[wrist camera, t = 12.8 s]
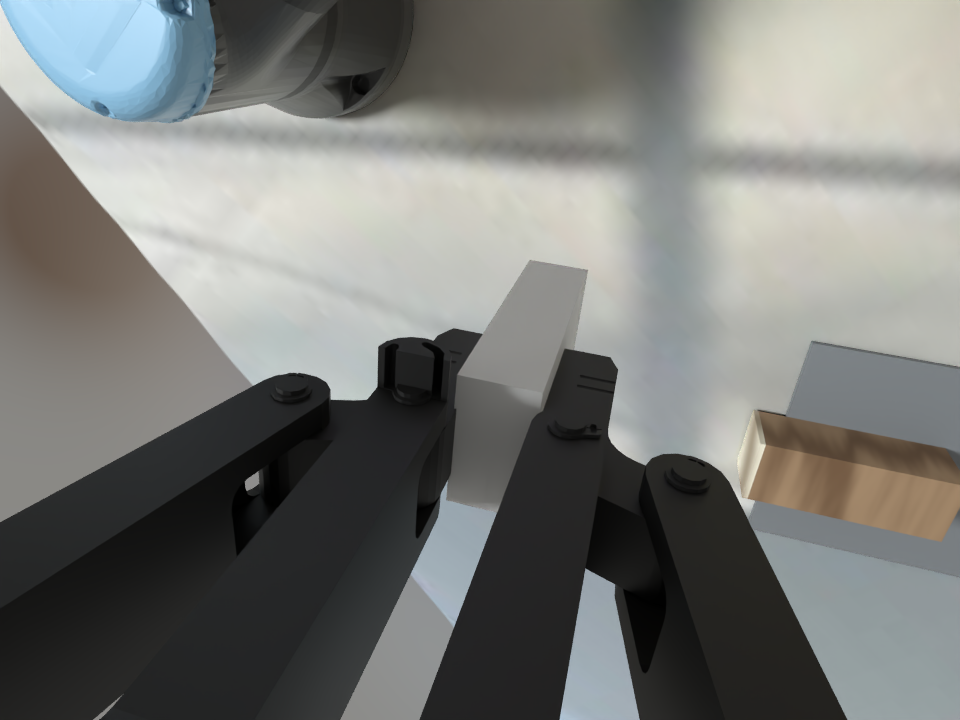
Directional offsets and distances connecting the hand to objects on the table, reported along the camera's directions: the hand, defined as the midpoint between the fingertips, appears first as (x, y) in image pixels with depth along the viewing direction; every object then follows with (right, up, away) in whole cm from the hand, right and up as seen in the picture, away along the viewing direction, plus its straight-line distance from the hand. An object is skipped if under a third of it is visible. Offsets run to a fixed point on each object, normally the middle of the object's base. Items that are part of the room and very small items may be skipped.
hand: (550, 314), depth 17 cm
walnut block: (+19, -8, +35) cm, 41 cm away
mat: (+32, -10, +35) cm, 48 cm away
